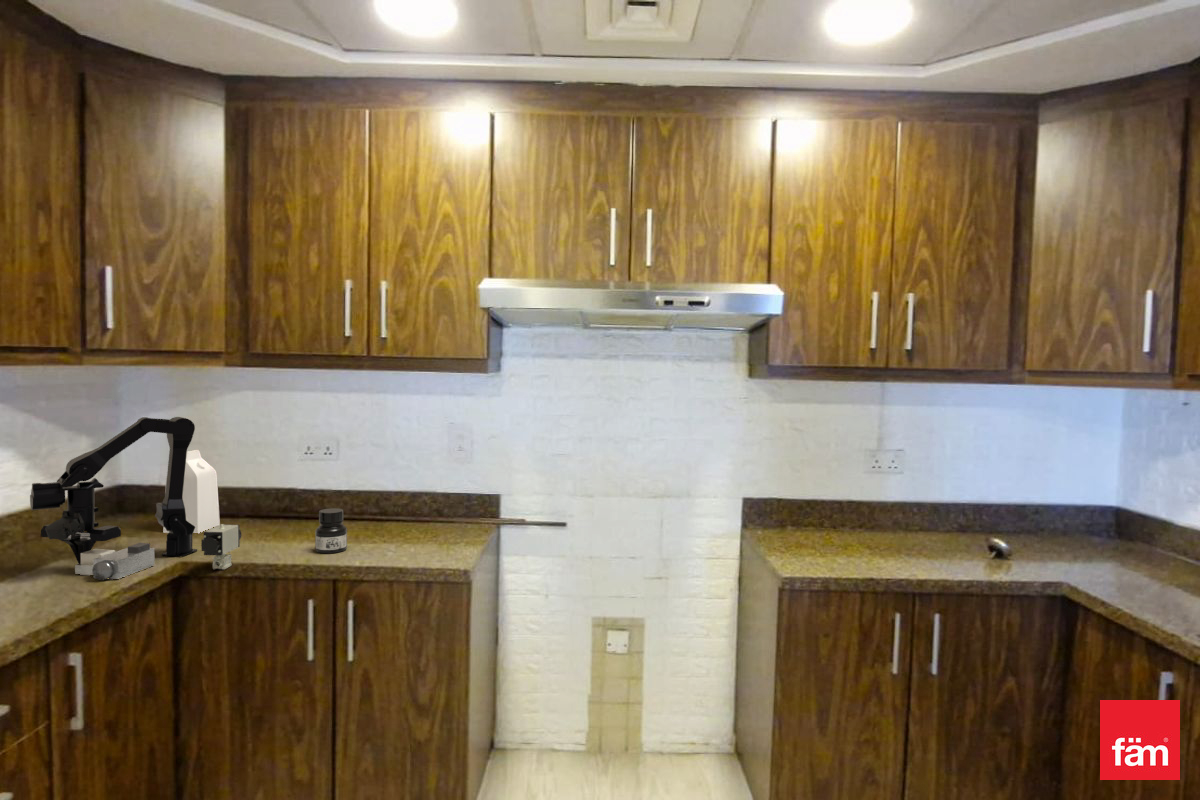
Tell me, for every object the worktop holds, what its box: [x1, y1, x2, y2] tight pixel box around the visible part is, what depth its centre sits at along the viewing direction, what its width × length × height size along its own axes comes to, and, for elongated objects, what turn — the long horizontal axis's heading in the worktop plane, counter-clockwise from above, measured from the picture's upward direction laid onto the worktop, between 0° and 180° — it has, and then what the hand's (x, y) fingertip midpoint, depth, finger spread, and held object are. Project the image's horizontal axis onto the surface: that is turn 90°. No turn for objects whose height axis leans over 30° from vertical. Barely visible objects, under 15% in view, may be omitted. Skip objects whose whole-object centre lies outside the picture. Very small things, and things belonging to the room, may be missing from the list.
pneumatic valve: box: [200, 523, 243, 571], centre depth 185 cm, size 6×12×12 cm, turn 179°
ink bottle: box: [314, 507, 348, 554], centre depth 204 cm, size 10×9×12 cm
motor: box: [74, 542, 156, 581], centre depth 179 cm, size 14×14×6 cm
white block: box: [81, 548, 116, 565], centre depth 180 cm, size 4×7×5 cm, turn 83°
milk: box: [162, 449, 221, 534], centre depth 226 cm, size 12×12×26 cm
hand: (81, 563), depth 181 cm, fingers closed
